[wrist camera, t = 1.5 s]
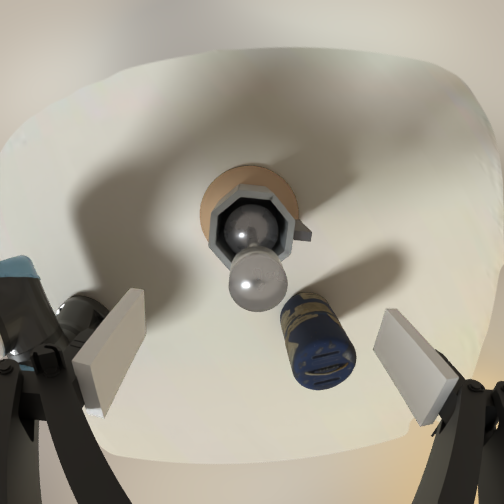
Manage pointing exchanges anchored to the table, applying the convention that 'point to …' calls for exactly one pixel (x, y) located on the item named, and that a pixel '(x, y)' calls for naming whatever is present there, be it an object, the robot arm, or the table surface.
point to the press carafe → (250, 192)
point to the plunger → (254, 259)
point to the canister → (316, 342)
